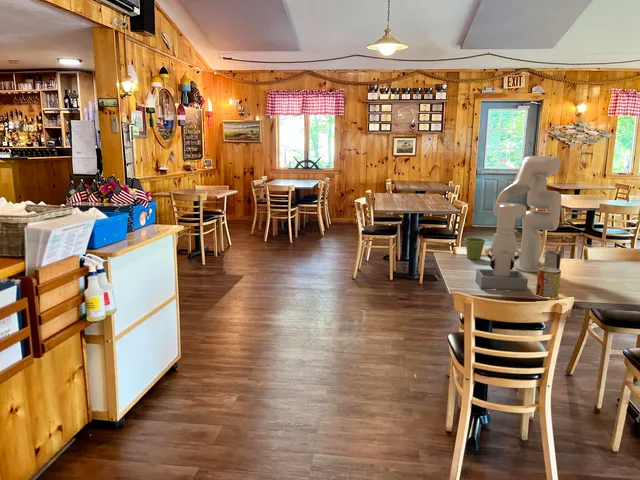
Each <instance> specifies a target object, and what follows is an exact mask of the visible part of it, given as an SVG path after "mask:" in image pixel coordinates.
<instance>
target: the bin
mask: <svg viewBox="0 0 640 480" xmlns="http://www.w3.org/2000/svg"><path fill="white" fill-rule="evenodd" d="M475 270H476V271H475V282H476V284H477V285H479V286H478V287H479V289H480V288H481V289H480V290H483V289H496V290H495V291H503V290H510V291H509V292H522V291H527V290H528V283H529V278H527V276H526V275H524V274H523V273H522V271H521V270H513V269H512V270H510V275H509V276H508V277H497V276H495V275H494V274H493V269H492V268H491V269H488V268H476V269H475Z"/></svg>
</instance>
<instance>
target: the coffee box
mask: <svg viewBox="0 0 640 480" xmlns="http://www.w3.org/2000/svg"><path fill="white" fill-rule="evenodd" d="M561 260H562V250H552V249H551V250H550V249H547V250H546V251H545V253H544V262H543V263H544V267H549V268H555V269H559V270H561V268H560V267H561Z"/></svg>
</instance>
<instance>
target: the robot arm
mask: <svg viewBox="0 0 640 480" xmlns="http://www.w3.org/2000/svg"><path fill="white" fill-rule="evenodd" d="M560 169H561V160H560V158H559V157H558V156H551V155H549V156H548V155H547V156H546V155H529V156H525V157H524V158H523V160H522V161H521V162H520V164H519V167H518V170H517V172H516V175H515V178H514V180H513V183H512V184H510V185H509V186H507V187H506V188H504V189H503V190H502V191H501V192H500V193H499V194H498V196H497V199H496V201H495V204H494V206H493V215H494V216H495V217H497V218H496V219H497V221H496V230H495V231H496V232H495V233H493V236H492V240H491V246H490V247H488V248H487V249H485V250H484V254H485V255H486V256H487V257H488V258H489V260H490V266H489V267H490V268H491V270H493V269H494V264H495V261H494V259H495V257H496V256H497V255H498V254H499V253H500V252H505V253H507V252H509V254H510V255H511V267H510V270H513V268H515V269H516V270H517V271H520V272H527V273H538V268H540V267H544V262H541V261H540V258H541V257H540V256H541V248H542V241H543V237H542V234H541V233H540V231H541V230H542V231H549V232H553V231H556V230H557V229H558V227H559V223H560V216H561V209H562V195H561V193H560V192H559V191H557V190H548V189H547V187H548V186H547V185H548V179H547V178H549V177H552V176H553V175H555V174H557V173H558V172H559V170H560ZM526 193H527V197H526V198H527V199H526V204H527V206H528V207H530V208H534V209H543V210H548V211H542V210H528V208H527V207H526V205H524V204H522V203H515V202H509V200H510V199H511V198H512V199H513V198H514V197H516V196H520V195H523V194H526ZM507 201H508V202H507ZM516 220H518V221H519V220H521V227H522V229H521V230H522V233H521V234H522V235H521V244H520V249H518V248H517V245H516V244H517V243H516V242H517V241H516V240H517V239H516V235H515V233H518V229H515V224H516V223H515V222H516ZM490 252H491V254H490ZM518 259H519V263H518V264H516V265H515V262H516V261H517V260H518Z"/></svg>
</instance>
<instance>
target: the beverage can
mask: <svg viewBox="0 0 640 480" xmlns="http://www.w3.org/2000/svg"><path fill="white" fill-rule="evenodd" d="M536 275H537V277H536V286H535V287H536V288H535V294H536V295H539V296H542V297H550V298H556V297H558V298H559V290H560V284H561V275H562V270H561V269H555V268H549V267H540V268H538V272H537V274H536ZM536 295H535V296H536Z"/></svg>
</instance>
